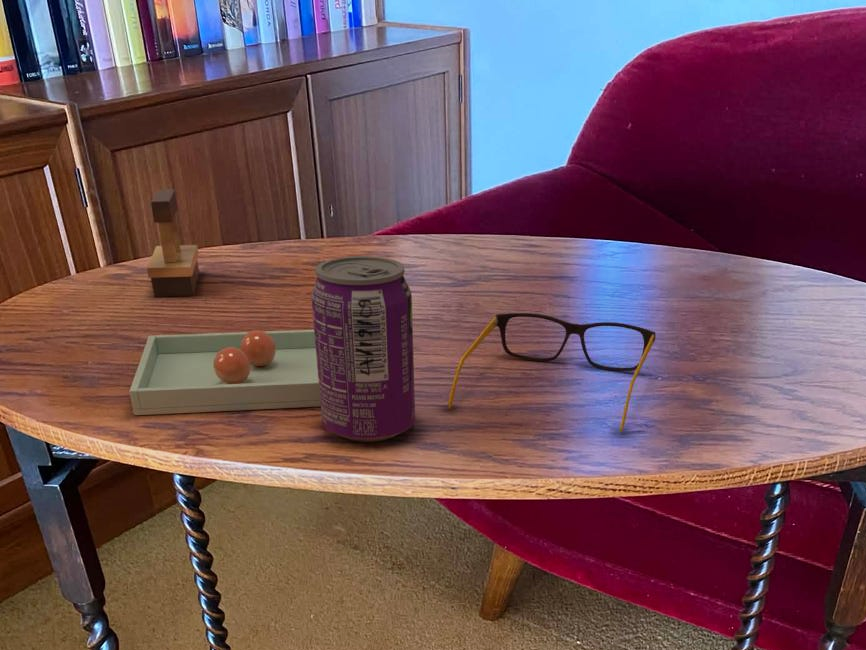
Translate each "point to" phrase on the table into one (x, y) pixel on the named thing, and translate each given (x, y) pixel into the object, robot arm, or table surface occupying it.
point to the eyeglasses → (570, 329)
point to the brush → (171, 252)
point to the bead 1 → (232, 365)
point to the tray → (204, 392)
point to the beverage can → (364, 347)
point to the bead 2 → (258, 348)
